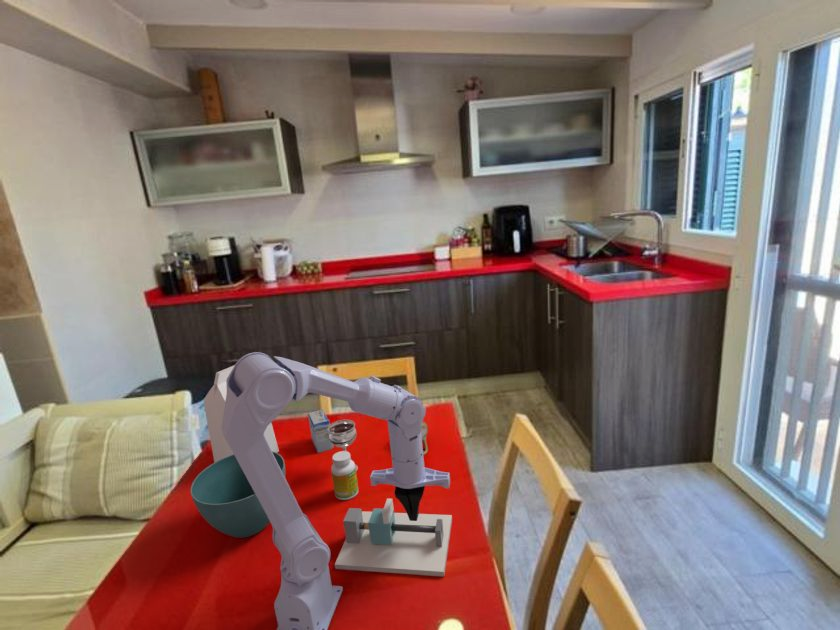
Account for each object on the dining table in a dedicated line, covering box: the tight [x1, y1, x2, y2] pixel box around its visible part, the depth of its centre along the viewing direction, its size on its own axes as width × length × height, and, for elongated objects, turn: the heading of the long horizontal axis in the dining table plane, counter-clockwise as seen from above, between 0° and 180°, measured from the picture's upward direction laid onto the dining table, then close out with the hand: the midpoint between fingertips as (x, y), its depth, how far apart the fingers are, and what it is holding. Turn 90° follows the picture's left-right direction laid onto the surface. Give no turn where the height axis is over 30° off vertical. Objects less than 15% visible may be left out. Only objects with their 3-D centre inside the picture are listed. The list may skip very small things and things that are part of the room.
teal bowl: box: [190, 451, 286, 539], centre depth 93 cm, size 18×18×12 cm
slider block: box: [368, 498, 395, 544], centre depth 84 cm, size 4×4×7 cm
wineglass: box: [328, 419, 359, 472], centre depth 108 cm, size 7×7×12 cm
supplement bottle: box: [330, 450, 359, 501], centre depth 100 cm, size 5×5×10 cm
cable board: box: [334, 507, 453, 577], centre depth 84 cm, size 14×20×6 cm
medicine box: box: [307, 409, 334, 454], centre depth 122 cm, size 8×4×9 cm, turn 25°
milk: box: [203, 364, 280, 463], centre depth 116 cm, size 12×12×26 cm
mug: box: [421, 420, 429, 456], centre depth 117 cm, size 8×10×10 cm
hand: (414, 517), depth 83 cm, fingers closed
